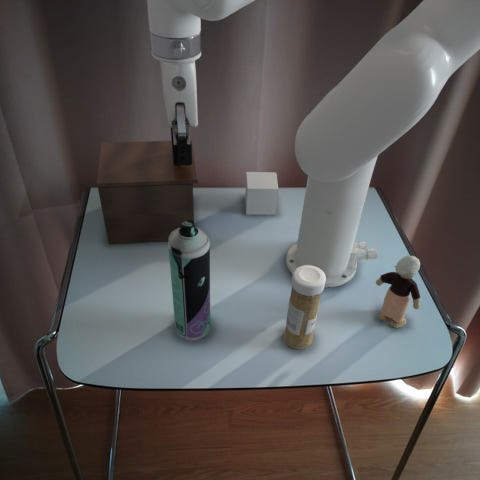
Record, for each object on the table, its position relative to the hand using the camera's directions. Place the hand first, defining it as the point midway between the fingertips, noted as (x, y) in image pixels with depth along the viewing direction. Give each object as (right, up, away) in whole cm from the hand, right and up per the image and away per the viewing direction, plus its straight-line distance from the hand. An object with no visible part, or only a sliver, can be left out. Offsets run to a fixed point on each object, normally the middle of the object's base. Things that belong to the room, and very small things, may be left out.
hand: (181, 153), depth 87 cm
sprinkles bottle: (+19, -32, -10) cm, 39 cm away
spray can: (+3, -31, -9) cm, 32 cm away
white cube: (+14, -6, +14) cm, 21 cm away
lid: (-6, -2, +1) cm, 6 cm away
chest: (-7, -10, +9) cm, 15 cm away
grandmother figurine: (+35, -29, -6) cm, 46 cm away
